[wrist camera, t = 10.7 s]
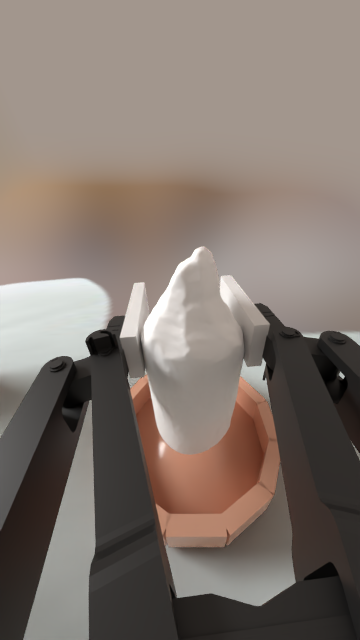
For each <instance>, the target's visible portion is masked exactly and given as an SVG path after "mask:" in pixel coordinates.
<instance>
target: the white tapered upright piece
mask: <svg viewBox="0 0 360 640" xmlns="http://www.w3.org/2000/svg"><path fill="white" fill-rule="evenodd" d="M141 343H142V349H143V357H144V362H145V368H146V372H147V377H148V382H149V387H150V392H151V398H152V403H153V408H154V414H155V420H156V424H157V428H158V430H159V433H160V435H161V437H162V438H163V440H164V441H165V442H166V443H167V444H168V445H169V446H170V447H171V448H172V449H174V450H175V451H177V452H179V453H182V454H188V455H192V454H198V453H202V452H204V451H206V450H209V449H210V448H211V447H213V446H215V445H216V444H217V443H218V442H219V441H220V440H221V439H222V438H223V436H224V435H225V434H226V432H227V430H228V429H229V427H230V423H231V417H232V414H233V410H234V407H235V402H236V398H237V393H238V386H239V379H240V374H241V368H242V363H243V358H244V337H243V332H242V329H241V327H240V325H239V324H238V323H237V321H236V320H235V319H234V317H233V315H232V313H231V311H230V309H229V307H228V305H227V304H226V303H225V302H224V301H223V300H222V298H221V295H220V292H219V277H218V273H217V269H216V264H215V261H214V260H213V255H212V253H211V251H209V250H208V249H207V248H206V247H203V246H202V247H200V248H198V249H195V251H194V253H193V254H192V256H191V257H190V258H188V259H186V260H185V261H183V262H181V263H180V264H179V265H178V267H177V269H176V271H175V273H174V275H173V277H172V278H171V281H170V284H169V286H168V288H167V289H166V291H165V292H164V293H163V295H162V296H161V298H160V299H159V301H158V303H157V305H156V306H155V307H154V309H153V310H152V312H151V314H150V315H149V316H148V318H147V320H146V322H145V324H144V326H143V329H142V332H141Z"/></svg>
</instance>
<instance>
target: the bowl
mask: <svg viewBox="0 0 360 640" xmlns="http://www.w3.org/2000/svg"><path fill="white" fill-rule="evenodd" d="M130 391H131V396H132V400H133V405H134V409H135V414H136V418H137V423H138V427H139V432H140V436H141V441H142V445H143V450H144V454H145V459H146V463H147V468H148V472H149V477H150V481H151V486H152V490H153V495H154V499H155V504H156V508H157V513H158V517H159V522H160V526H161V531H162V535H163V540H164V544H165V546H166V545H167V543H168V546H169V547H225V543H226V545H227V546H228V545H229V544H230V543H231V542H232V541H233V540H234V539H235V538H236V537H237V536H239V535H240V534H241V533H242V532H243V531H244V530H245V529H246V528H247V527H248V526H249V525H250V524H251V523H253V522H254V521H255V520H256V519H257V518H258V517H259V516H260V515H261V514H262V513H263V512H264V511H265V510H266V509H267V508H268V506H269V504H270V502H271V500H272V498H273V496H274V494H275V489H276V483H277V477H278V471H279V465H280V455H279V449H278V443H277V437H276V431H275V426H274V420H273V415H272V413H271V410H270V407H269V405H268V402H265V401H266V399H265V398H263V397H262V396H261V395H260V394H259V393H258V392H257V391H256V390H255V389H254V388H253V387H252V386H251V385H249V384H248V383H247V382H246V381H245V380H244V379H243V378H242V377H241V376H240V379H239V386H238V393H237V398H236V402H235V407H234V410H233V414H232V417H231V423H230V427H229V429H228V430H227V432H226V434H225V435H224V436H223V438H222V439H221V440H220V441H219V442H218V443H217V444H216V445H215V446H213V447H211V448H210V449H209V450H206V451H204V452H202V453H198V454H192V455H188V454H182V453H179V452H177V451H175V450H174V449H172V448H171V447H170V446H169V445H168V444H167V443H166V442H165V441H164V440H163V438H162V437H161V435H160V433H159V430H158V428H157V424H156V420H155V414H154V408H153V403H152V398H151V392H150V387H149V382H148V377H147V375H145V376H144V377H143V378H142V377H141V378H140V379H139V380H138V381H137V382H136V383H135V385H134V386H133V387H132V388H131V389H130Z"/></svg>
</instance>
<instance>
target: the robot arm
mask: <svg viewBox="0 0 360 640" xmlns="http://www.w3.org/2000/svg"><path fill="white" fill-rule="evenodd" d="M220 295H221V298H222V300H223V301H224V302H225V303H226V304H227V305H228V307H229V309H230V311H231V313H232V315H233V317H234V319H235V320H236V321H237V323H238V324H239V325H240V327H241V329H242V332H243V337H244V358H243V359H244V361H245V363H246V365H247V367H250V366H261V363H262V359H263V358H264V360H265V362H266V367H265V371H264V375H263V380H265V378H266V379H267V385H268V391H269V397H270V402H271V408H272V414H273V420H274V426H275V431H276V437H277V443H278V449H279V455H280V461H281V466H282V472H283V478H284V484H285V490H286V495H287V501H288V507H289V513H290V519H291V524H292V535H293V537H292V559H293V567H294V574H295V580H296V583H295V584H293V585H292V586H290V587H289V588H287V589H286V590H284V591H283V592H281V593H279V594H278V595H276V596H275V597H273V598H272V599H270V600H269V601H267V602H266V603H265V604H263V605H262V606H253V605H249V604H246V603H243V602H239V601H236V600H232V599H229V598H225V597H222V596H218V595H215V594H204V595H197V596H190V597H183V598H177V595H176V591H175V586H174V582H173V577H172V573H171V569H170V565H169V561H168V557H167V553H166V549H165V544H164V540H163V535H162V531H161V526H160V522H159V517H158V513H157V508H156V504H155V499H154V495H153V490H152V486H151V481H150V477H149V472H148V468H147V463H146V459H145V454H144V450H143V445H142V441H141V436H140V432H139V427H138V423H137V418H136V414H135V409H134V405H133V400H132V396H131V391H130V387H129V382H128V379H127V378H128V372H129V375H130V378H137V377H144V376H145V362H144V357H143V349H142V343H141V332H142V329H143V326H144V324H145V322H146V320H147V318H148V316H149V315H150V313H149V307H148V300H147V295H146V287H145V283H144V282H142V283H134V286H133V290H132V294H131V297H130V301H129V305H128V308H127V312H126V316H115V317H113V318H112V319H111V320H110V321H109V324H108V326H107V329H103V330H98V331H95V332H93V333H92V334H90V335H89V336H88V337H87V338H86V341H85V342H86V344H87V347H88V350H89V352H90V355H91V356H89V357H87V358H85V359H82V360H78V361H75V362H73V360H72V358H71V357H68V356H61V357H57V358H54V359H52V360H50V361H49V362H47V363H46V364H45V365H44V366H43V367H42V369H41V370H40V372H39V374H38V376H37V377H36V379H35V381H34V382H33V384H32V386H31V387H30V389H29V391H28V392H27V394H26V396H25V398H24V399H23V401H22V403H21V404H20V406H19V408H18V409H17V411H16V413H15V414H14V416H13V418H12V420H11V421H10V423H9V425H8V426H7V428H6V430H5V431H4V433H3V435H2V436H1V438H0V640H23V637H24V634H25V630H26V627H27V623H28V619H29V616H30V612H31V609H32V605H33V602H34V598H35V594H36V591H37V587H38V584H39V580H40V576H41V573H42V569H43V566H44V562H45V558H46V555H47V551H48V548H49V544H50V540H51V537H52V533H53V530H54V526H55V522H56V519H57V515H58V512H59V508H60V504H61V501H62V497H63V494H64V490H65V486H66V483H67V479H68V476H69V472H70V468H71V465H72V461H73V458H74V454H75V450H76V447H77V443H78V440H79V436H80V432H81V429H82V425H83V422H84V418H85V415H86V411H87V407H88V404H89V400H92V426H93V462H94V499H95V535H96V548H95V555H94V558H93V561H92V563H91V569H90V576H89V640H360V460H359V458H358V456H357V454H356V452H355V449H354V447H353V445H354V446H355V447H356V449H357V450H358V452H359V453H360V346H359V345H358V344H357V343H356V342H354V341H353V340H352V339H351V338H349V337H348V336H346V335H344V334H342V333H340V332H335V331H325V332H323V333H321V335H320V337H319V339H317V338H307V337H303V335H302V334H301V333H300V332H299V331H297V330H296V329H293V328H290V327H285V326H284V325H283V324H282V323H281V322H280V320H279V319H278V318H277V317H276V316H275V315H274V314H273V313H272V312H271V310H270V309H269V308H268V307H267V306H265V305H263V304H261V303H259V304H253V302H252V301H251V300H250V299H249V298H248V296H247V295H246V294H245V292H244V291H243V290H242V288H241V287H240V286H239V285H238V283H237V282H236V281H235V280H234V278H233V277H232V276H231V275H229V276H221V285H220ZM340 371H341V372H342V373H343V375H344V376H345V378H344V379H342V378H341V377H340V376H339V373H340ZM350 440H351V441H350ZM351 442H352V443H353V445H352V443H351Z"/></svg>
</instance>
